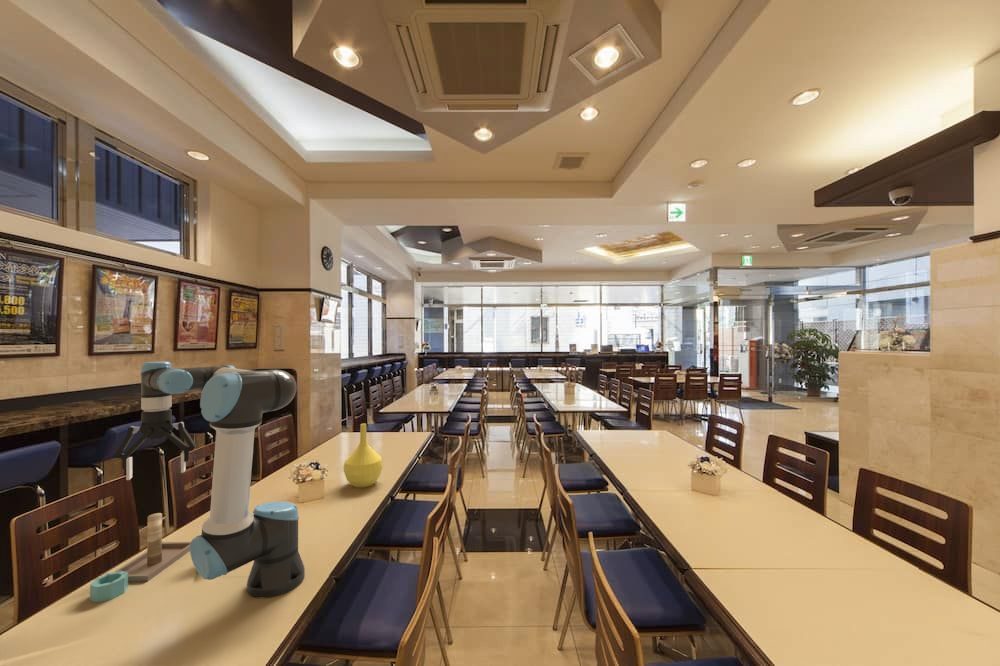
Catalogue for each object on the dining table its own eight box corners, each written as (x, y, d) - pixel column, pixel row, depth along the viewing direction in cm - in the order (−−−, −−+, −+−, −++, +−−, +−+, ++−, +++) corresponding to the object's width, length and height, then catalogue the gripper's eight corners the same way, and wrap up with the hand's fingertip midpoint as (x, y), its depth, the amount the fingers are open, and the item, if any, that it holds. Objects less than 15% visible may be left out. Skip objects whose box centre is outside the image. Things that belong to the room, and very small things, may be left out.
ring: (121, 599, 113) (121, 581, 114) (86, 607, 110) (86, 589, 110) (130, 585, 120) (130, 568, 120) (97, 592, 117) (97, 575, 117)
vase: (355, 476, 211) (355, 419, 211) (388, 478, 208) (388, 420, 209) (336, 490, 193) (336, 427, 193) (372, 492, 190) (372, 428, 190)
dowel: (160, 563, 130) (160, 516, 130) (145, 566, 128) (146, 518, 128) (163, 558, 133) (163, 512, 133) (149, 560, 131) (149, 514, 131)
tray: (147, 583, 121) (147, 575, 121) (106, 584, 120) (106, 576, 120) (196, 548, 141) (196, 541, 141) (161, 549, 140) (161, 542, 140)
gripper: (205, 404, 140) (206, 465, 140) (109, 411, 128) (109, 478, 128) (202, 407, 134) (202, 472, 133) (100, 415, 122) (100, 485, 122)
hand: (157, 475), depth 131 cm, fingers open, 13 cm apart
